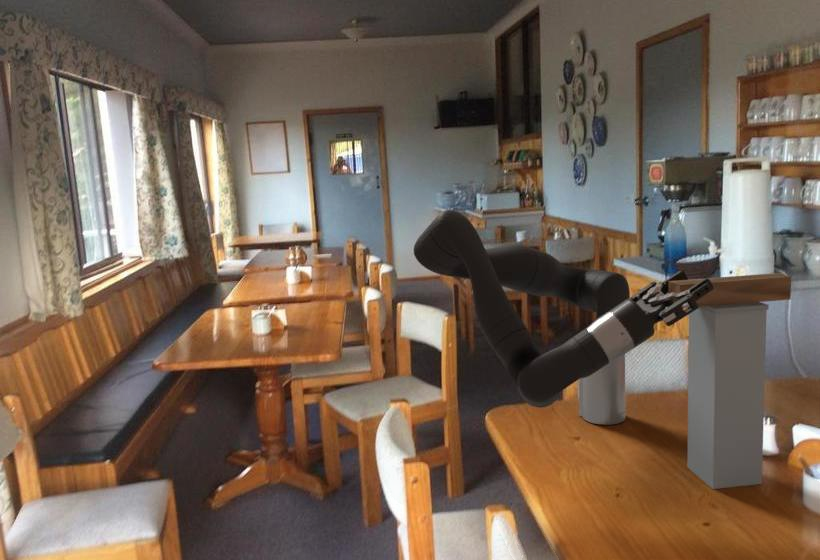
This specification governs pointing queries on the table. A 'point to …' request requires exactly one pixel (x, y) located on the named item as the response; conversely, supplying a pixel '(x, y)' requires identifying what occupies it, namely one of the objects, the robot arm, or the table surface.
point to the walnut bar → (739, 289)
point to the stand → (726, 393)
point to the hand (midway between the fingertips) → (697, 278)
